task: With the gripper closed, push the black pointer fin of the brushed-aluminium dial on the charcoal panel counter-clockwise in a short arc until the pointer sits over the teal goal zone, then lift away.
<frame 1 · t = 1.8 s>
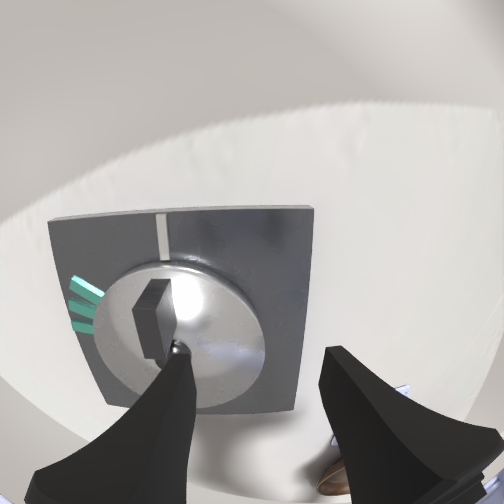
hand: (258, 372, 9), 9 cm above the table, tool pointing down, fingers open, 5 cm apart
plant saucer: (373, 456, 31), on the table
dial: (171, 363, 16), point 4 cm above the table, hinge at 0.0°
panel: (180, 329, 19), on the table
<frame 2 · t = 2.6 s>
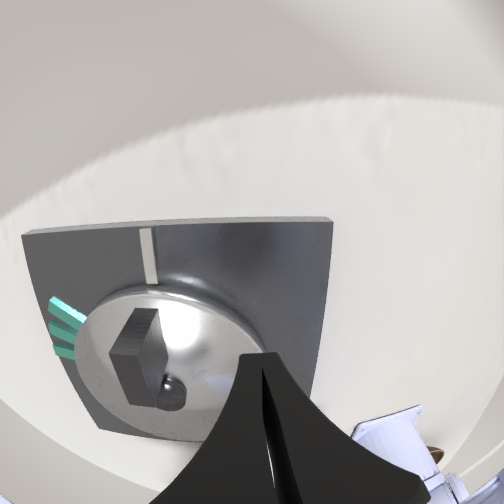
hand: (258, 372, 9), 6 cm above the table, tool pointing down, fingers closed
dial: (163, 401, 13), point 4 cm above the table, hinge at 0.0°
panel: (174, 357, 16), on the table
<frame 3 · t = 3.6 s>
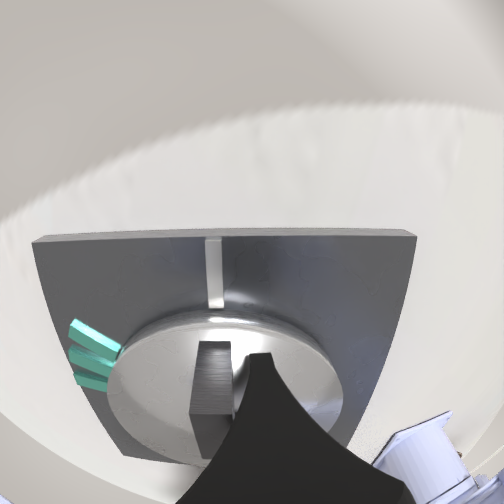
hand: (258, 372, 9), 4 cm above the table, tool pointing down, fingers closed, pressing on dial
dial: (224, 439, 10), point 4 cm above the table, hinge at 0.1°, touching gripper
panel: (224, 384, 14), on the table
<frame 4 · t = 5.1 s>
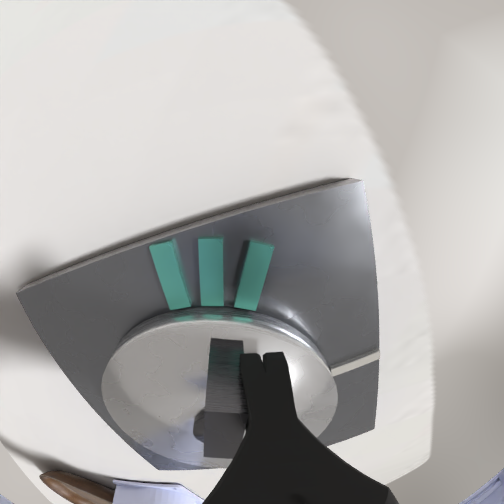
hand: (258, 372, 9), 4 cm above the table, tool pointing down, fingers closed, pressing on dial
plant saucer: (101, 493, 23), on the table
dial: (217, 437, 10), point 4 cm above the table, hinge at 66.3°, touching gripper
panel: (219, 383, 14), on the table
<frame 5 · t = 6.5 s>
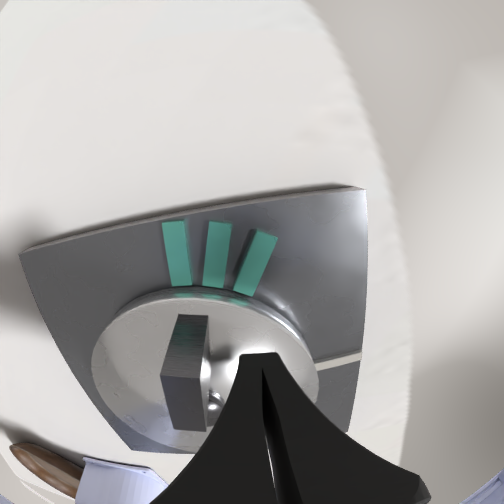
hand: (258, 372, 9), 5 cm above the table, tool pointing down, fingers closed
plant saucer: (69, 471, 23), on the table
dial: (200, 417, 11), point 4 cm above the table, hinge at 78.9°
panel: (205, 366, 15), on the table
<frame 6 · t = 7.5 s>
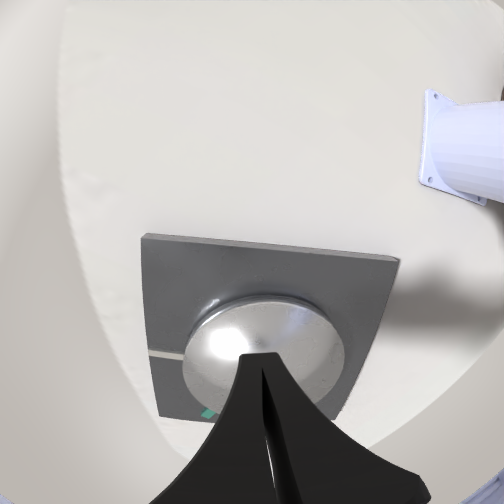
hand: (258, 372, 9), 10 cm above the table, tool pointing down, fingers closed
dial: (267, 385, 17), point 4 cm above the table, hinge at 78.9°
panel: (261, 351, 21), on the table
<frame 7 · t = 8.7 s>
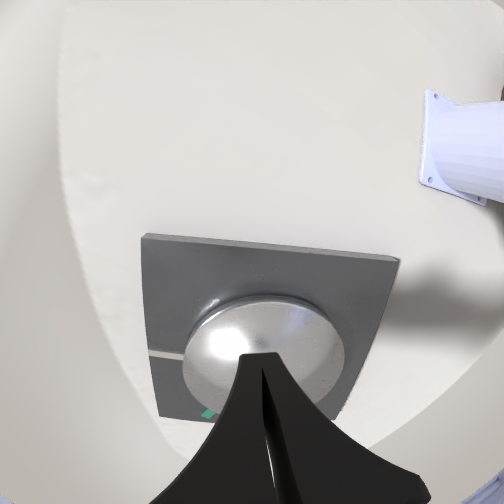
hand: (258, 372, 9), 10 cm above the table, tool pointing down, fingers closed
dial: (267, 385, 17), point 4 cm above the table, hinge at 78.9°
panel: (261, 351, 21), on the table
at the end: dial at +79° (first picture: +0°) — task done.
